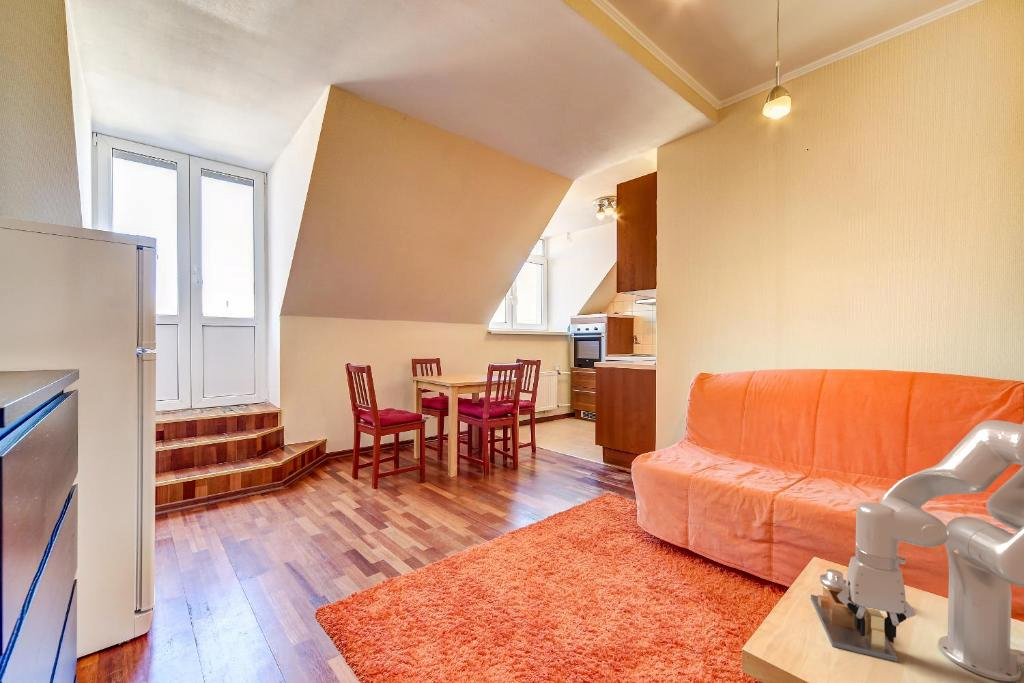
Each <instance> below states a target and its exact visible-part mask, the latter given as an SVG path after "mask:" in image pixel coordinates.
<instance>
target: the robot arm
mask: <svg viewBox="0 0 1024 683" xmlns="http://www.w3.org/2000/svg"><path fill="white" fill-rule="evenodd" d="M1013 464H1014V465H1015V464H1016V465H1018V466H1021V468H1019V469H1018V470H1017V472H1015V473H1014V474H1013V475H1012V476H1011V477H1010V478H1009V479H1008V480H1006V481H1005V483H1003V484H1002V485H1001V486H1000V487H999V488H998V489H997V490H995V492H993V493H992V494H991V495H990V496H989V497H988V499H987V501H986V503H985V504H986V505H985V506H986V511H987V513H988V514H989V515H990V516H991V518H993V519H994V520H995V521H997V522H998V523H1001V524H1002V525H1004V526H1006V527H1008V528H1010V529H1013V531H1016V533H1011V532H1009V531H1007V530H1006V529H1004V528H1001V527H999V526H997V525H995V524H992V523H990V522H988V521H986V520H983V519H980V518H977V517H973V516H957V517H955V518H952V519H951V520H949V521H948V522H947V524H945V523H944V522H943V521H942V520H940V519H939V518H938V517H937V516H935V515H933V514H932V513H930V512H928V511H926V510H924V509H922V508H921V507H923V506H924V505H925V504H926V503H928V502H929V501H931V500H934V499H937V498H938V497H942V496H948V495H972V494H975V495H976V494H982V493H984V492H985V491H987V489H989V488H990V487H991V486H992V485H993V483H994V482H995V481H996V480H997V479H998V478H999V477H1000V476H1001V475H1002V474H1003V473H1004V472H1006V471H1007V470H1008V469H1009V468H1010V467H1011V466H1012V465H1013ZM855 509H856V510H855V511H856V512H855V556H851V557H850V560H849V563H848V569H847V575H846V588H845V589H844V590H842V591H841V592H840V593H839V594H838V595H837V597H838V599H839V600H840V601H841V602H842V603H844V604H845V605H846V606H847V607H848V608H849V609H850V610H851V611H852V612H853V613H854V614H855V620H854V625H855V628H856V629H858V631H859V633H860V635H861V636H865V619H864V617H863V614H864V612H865V609H866V608H868V609H873V610H878V611H883V612H885V613H886V615H887V616H885V617H884V632H885V638H886V640H887V641H888V642H889V643H892V644H894V639H895V638H897V627H898V626H899V625H900V624H901V623H903V622H904V621H905V620H907V619H909V618H912V617H915V616H916V615H917V613H916V612H915V610H914V609H913V608H912V607H911V605H910V604H909V603H908V601H907V599H906V590H905V582H904V577H903V574H902V570H901V568H900V565H906V558H905V557H901V555H900V556H899V543H901V542H902V543H905V544H910V545H914V546H919V547H925V548H937V547H940V546H942V545H945V551H946V555H947V559H948V560H947V561H948V596H947V597H948V598H947V599H948V600H947V601H948V605H947V609H948V610H947V635H944V636H941V637H939V638H938V640H937V646H938V649H939V650H940V651H941V653H942V654H943V655H945V657H947V658H948V659H949V660H951V661H952V662H953V663H954V664H956V665H959V666H960V667H962V668H964V669H966V670H968V671H970V672H972V673H974V674H977V675H979V676H982V677H985V678H988V679H991V680H996V681H1000V682H1017V681H1019V680H1020V679H1021V678H1022V677H1021V676H1022V672H1021V669H1020V667H1023V666H1024V650H1020V649H1016V648H1014V649H1013V648H1011V636H1012V635H1011V634H1012V633H1011V631H1012V629H1011V628H1012V627H1011V626H1012V625H1011V624H1012V598H1013V597H1012V587H1011V586H1012V585H1013V586H1016V587H1019V588H1024V421H1023V422H1022V424H1020V423H1015V422H1012V421H1006V420H1005V421H1004V420H996V419H995V420H994V419H990V420H985V421H981V422H980V423H978V424H976V425H975V426H974V427H973V429H971V430H970V431H969V432H968V433H967V434H966V435H965V436H964V437H962V439H961V440H960V441H959V442H958V443H957V445H956V446H955V447H953V448H952V450H950V452H949V453H947V454H946V455H945V456H944V457H943V458H942V460H941V461H940V462H939V463H937V464H936V465H933V466H930V467H927V468H925V469H922V470H919V471H917V472H915V473H913V474H910V475H908V476H905V477H904V478H902V479H900V480H898V481H897V482H895V484H893V486H891V488H890V489H889V490H888V491H887V492H886V493H885V494H884V495H883V496H882V498H881V499H880V501H879V503H877V502H870V501H866V502H859V503H858V504H857V505H856V508H855ZM850 596H851V599H852V602H853V603H854V604H853V603H852V602H851V601H849V600H848V598H849V597H850Z"/></svg>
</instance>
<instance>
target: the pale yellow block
mask: <svg viewBox="0 0 1024 683" xmlns="http://www.w3.org/2000/svg"><path fill="white" fill-rule="evenodd" d="M880 611H881V610H877V609H872V608H867V607H866V619H865V637H866V638H867V640H868V642H869V643H870V645H871V647H874V648H878V649H882V650H885V638H886V636H885V632H884V619H885V617H884V616H883V614H882V613H881V612H880Z"/></svg>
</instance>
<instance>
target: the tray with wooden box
mask: <svg viewBox="0 0 1024 683" xmlns="http://www.w3.org/2000/svg"><path fill="white" fill-rule="evenodd" d="M846 581H847V579H844V574H843V572H841V571H839V570H836V569H833V568H829V569H826V573H824V574H823V573H822V574H821V575H820V576H819V582H820V583H821V584H822V585H823V586H822V594H821V595H819V594H818V595H815V594H810V600H811V602H812V603H811V604H813V607H814V610H815V611H816V613H817V616H818V618H819V619H820V623H821V626H822V627H823V628H824V631H825V633H826V635H827V638H828V640H829V642H830V644H831V647H833V648H836V649H841V650H845V651H846V650H847V651H849V652H854V653H858V654H860V655H861V654H862V655H867V656H870V657H874V658H879V659H883V660H887V661H891V662H895V663H898V656H897V654H896V652H895V651H894V650H893V648H892V645H890V642H889V640H888V639H887V637H885V650H882V649H878V648H874V647H871V645H870V643H869V642H868V640H867V638H866V637H865V636H861V635H860V633H859V631H858V629H856V628H855V625H854V620H855V614H854V613H853V612H852V611H851V610H850V609H849V608H848V607H847V606H846V605H845V604H844V603H842V602H841V601H840V600H839V599H838V597H837V595H838V594H839V593H840V592H841V591H842V590H844V589H845V588H846ZM848 600H849V601H851V602H852V599H851V596H850V597H849V598H848ZM852 603H853V602H852ZM853 604H854V603H853ZM863 617H864V619H866V609H865V612H864V614H863Z"/></svg>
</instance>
